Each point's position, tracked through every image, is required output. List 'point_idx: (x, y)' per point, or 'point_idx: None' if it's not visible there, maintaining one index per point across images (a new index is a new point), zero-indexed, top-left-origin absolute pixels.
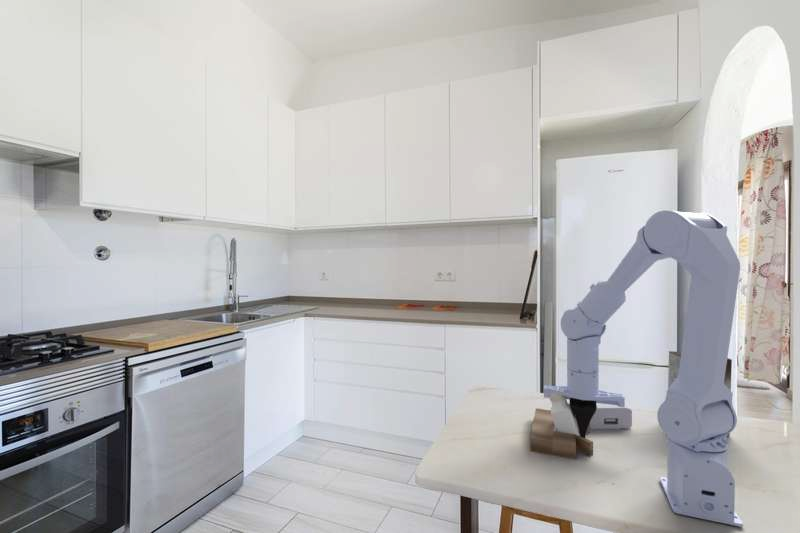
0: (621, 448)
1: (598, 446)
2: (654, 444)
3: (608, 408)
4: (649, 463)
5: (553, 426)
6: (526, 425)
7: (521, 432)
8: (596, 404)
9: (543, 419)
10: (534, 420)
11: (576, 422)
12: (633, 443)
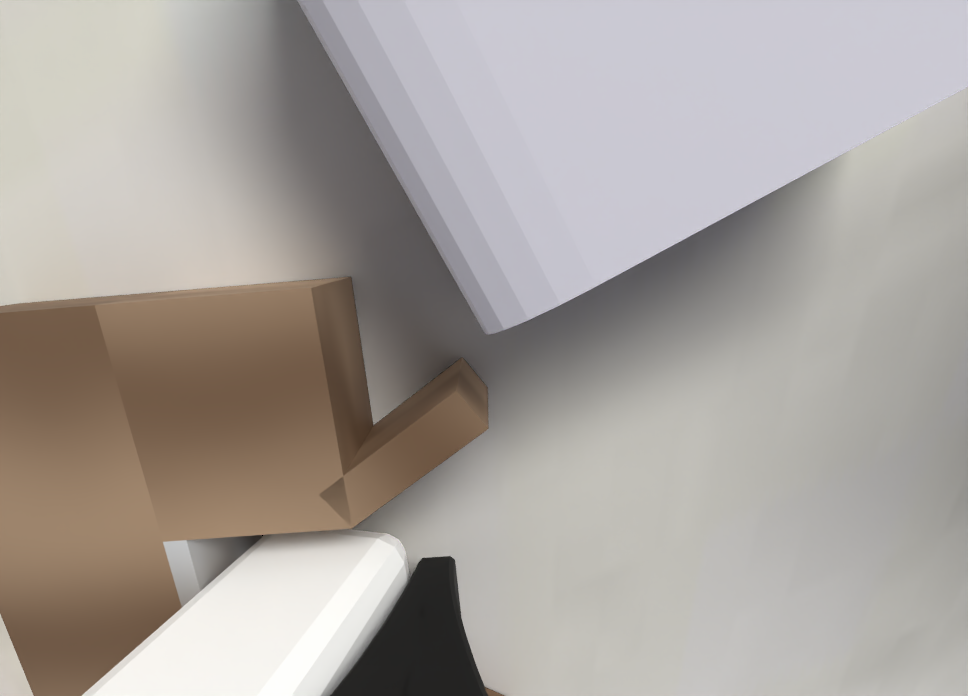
0: (690, 547)
1: (545, 581)
2: (944, 380)
3: (752, 197)
4: (816, 665)
5: None
6: None
7: None
8: (584, 108)
9: (78, 582)
10: (18, 635)
11: (369, 623)
12: (790, 432)
